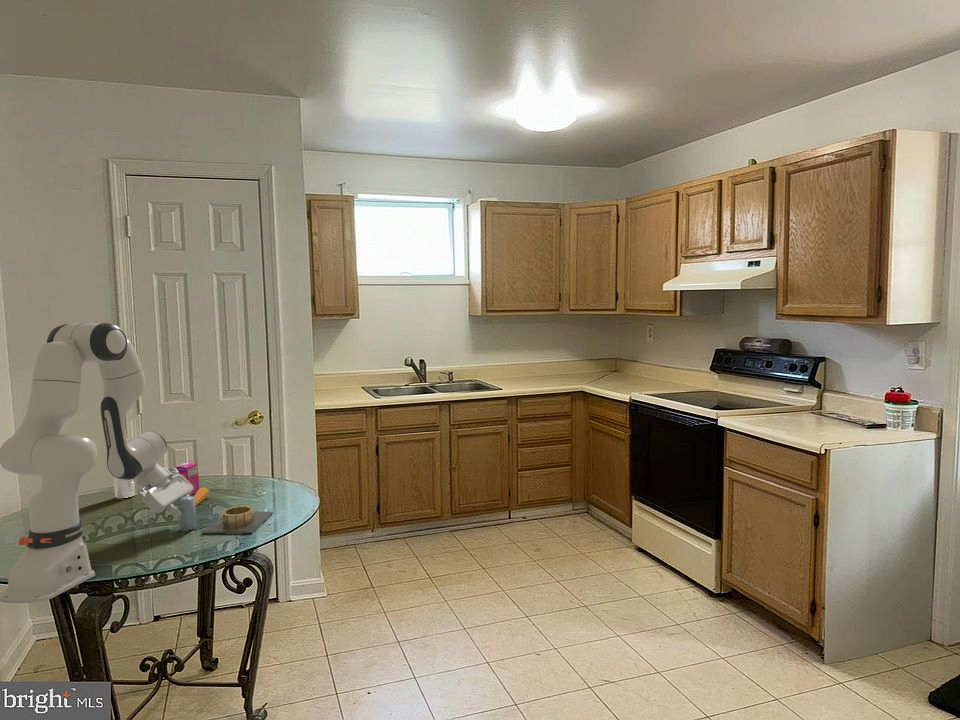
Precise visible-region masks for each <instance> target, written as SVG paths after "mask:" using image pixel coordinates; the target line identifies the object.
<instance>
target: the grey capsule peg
mask: <svg viewBox="0 0 960 720" xmlns="http://www.w3.org/2000/svg"><path fill="white" fill-rule="evenodd" d="M177 508H178V509H181V510H182V511H183V512H184V513H183V514H182V515H181V516H180V517H178V523H179V531H180V530H181V532H183V531H186V532H188V531H187V530H192V529H194V530H196V529H197V528H198V527H197V514H196V513H197V512H196V506H195V497H194V495H192V496H186V497H181V498H179V499H178V502H177ZM196 527H197V528H196ZM195 528H196V529H195ZM192 531H193V530H192Z"/></svg>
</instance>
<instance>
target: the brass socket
mask: <svg viewBox="0 0 960 720" xmlns="http://www.w3.org/2000/svg"><path fill="white" fill-rule="evenodd" d="M255 512H256V511H255V508H254V506H250V505H238V506H232V507H228V508H225V509H224V510H222V511H221V516H222V523H223V525H225V526H241V525H246V524H248V523H251V522H253V521H254V520H255Z"/></svg>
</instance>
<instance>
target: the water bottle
mask: <svg viewBox="0 0 960 720" xmlns="http://www.w3.org/2000/svg"><path fill="white" fill-rule="evenodd" d="M127 439H129V438H128V437H127ZM112 478H113V479H112V480H113V488H114V498H115V497H116V498H128V497H132V496H134V495H135V496H136V486H135V485H136V483H135V481H134V480H133V479H131V480H123V479H119V478H116V477H114V476H113V475H112ZM135 496H134V497H135ZM116 498H115V499H116ZM132 498H133V497H132Z"/></svg>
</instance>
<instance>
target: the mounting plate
mask: <svg viewBox="0 0 960 720" xmlns="http://www.w3.org/2000/svg"><path fill="white" fill-rule="evenodd" d="M254 512H255V520H254V521H253V522H251V523H248V524H246V525H241V526H225V525H223V523H222V515H221V516H220V517H219V518H217V519H216V520H215V521H213V522H211V524H209V525H208V526H207V527H205V528H204V529H203V530H201V534H202V533H252V534H253V533H254V532H256V531H257V530H258V529H259V528H260V527H261V526H262V525H263V524H264V523H265V522H266V521H265V520H267V519H268V518H269V517H270V516H271V515H272V514H273V515H274V512H273V511H254ZM273 515H272V516H273ZM272 516H271V517H272ZM271 517H270V518H271ZM270 518H269V519H270ZM269 519H268V520H269ZM264 521H265V522H264ZM263 522H264V523H263ZM262 523H263V524H262ZM261 524H262V525H261ZM260 525H261V526H260ZM259 526H260V527H259ZM258 527H259V528H258ZM257 528H258V529H257ZM256 529H257V530H256Z"/></svg>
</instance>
